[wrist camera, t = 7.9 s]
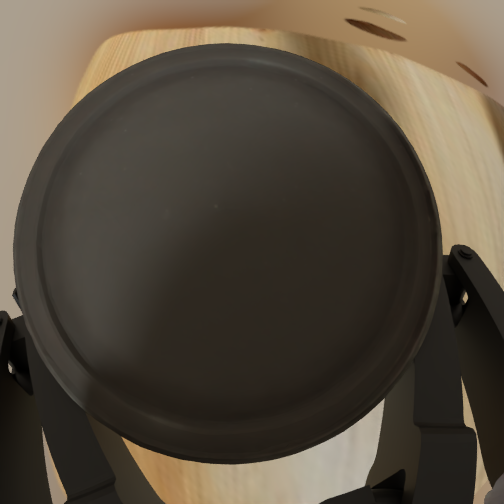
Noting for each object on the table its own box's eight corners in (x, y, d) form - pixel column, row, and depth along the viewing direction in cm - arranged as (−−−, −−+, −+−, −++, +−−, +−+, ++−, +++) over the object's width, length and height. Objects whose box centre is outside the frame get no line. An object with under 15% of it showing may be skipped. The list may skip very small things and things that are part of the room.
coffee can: (190, 384, 18) (124, 513, 4) (129, 246, 19) (-1, 137, 5) (328, 317, 19) (493, 310, 6) (261, 187, 21) (309, 20, 7)
